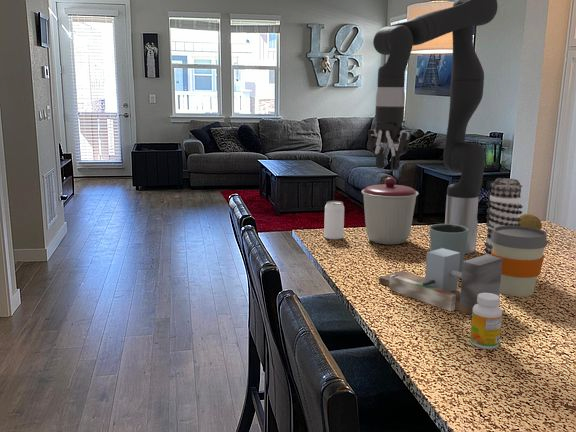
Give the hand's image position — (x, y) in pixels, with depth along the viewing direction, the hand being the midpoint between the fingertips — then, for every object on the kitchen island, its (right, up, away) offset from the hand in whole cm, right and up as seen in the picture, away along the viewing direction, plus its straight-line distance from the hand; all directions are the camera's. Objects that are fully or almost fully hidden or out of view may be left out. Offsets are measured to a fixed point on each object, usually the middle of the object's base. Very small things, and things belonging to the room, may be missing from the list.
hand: (387, 168), depth 153 cm
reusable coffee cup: (+29, -31, -14) cm, 45 cm away
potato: (+54, -20, +38) cm, 69 cm away
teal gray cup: (+16, -28, +1) cm, 32 cm away
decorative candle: (+32, -28, +3) cm, 42 cm away
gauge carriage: (+9, -31, -21) cm, 39 cm away
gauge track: (+8, -32, -17) cm, 37 cm away
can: (-12, -20, +36) cm, 43 cm away
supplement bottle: (+11, -38, -44) cm, 59 cm away
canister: (+6, -21, +32) cm, 39 cm away
